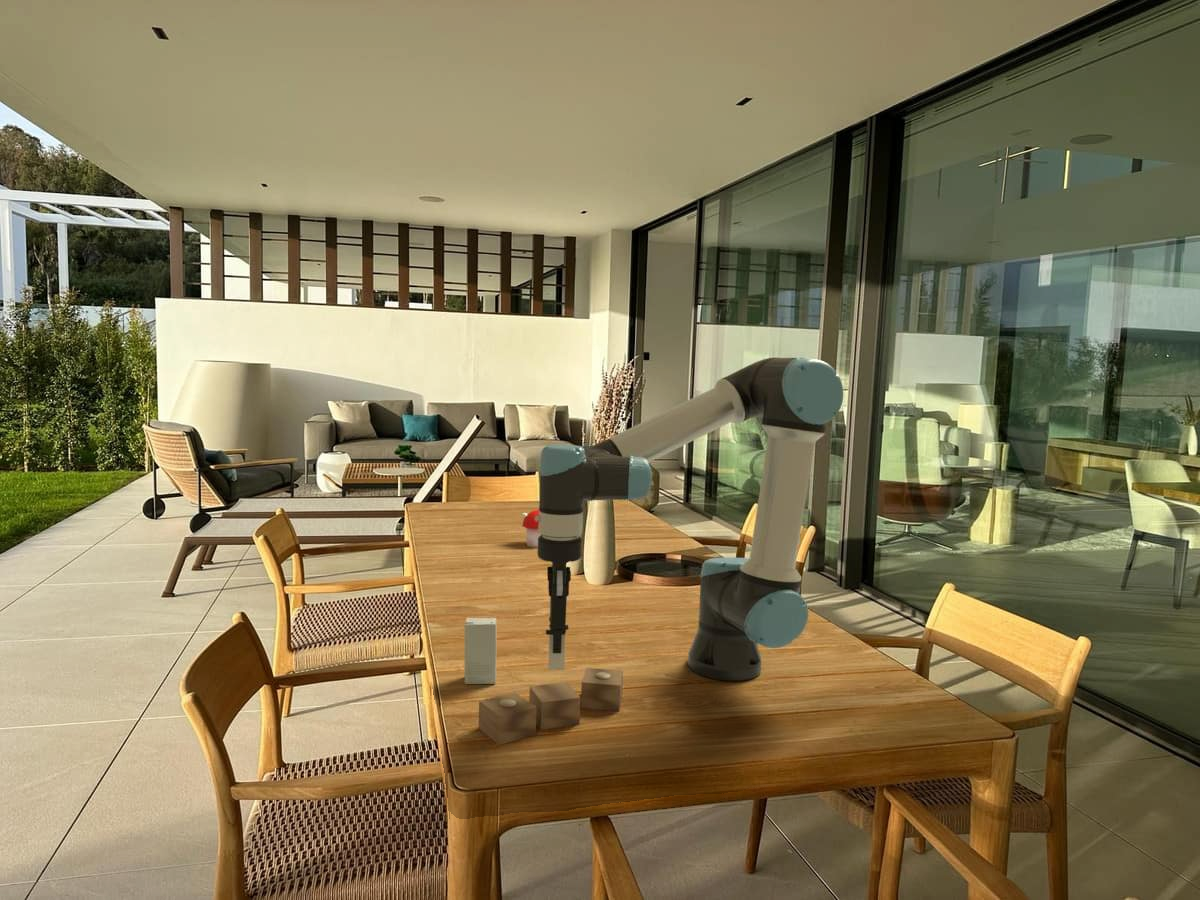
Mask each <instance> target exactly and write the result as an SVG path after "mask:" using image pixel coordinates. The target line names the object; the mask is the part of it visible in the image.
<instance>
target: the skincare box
mask: <svg viewBox="0 0 1200 900" xmlns="http://www.w3.org/2000/svg"><path fill="white" fill-rule="evenodd" d="M497 620H498V619H497V618H496V617H466V618H465V621H464V622H465V623H464V685H493V684H494V685H495V684H496V682H497Z"/></svg>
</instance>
